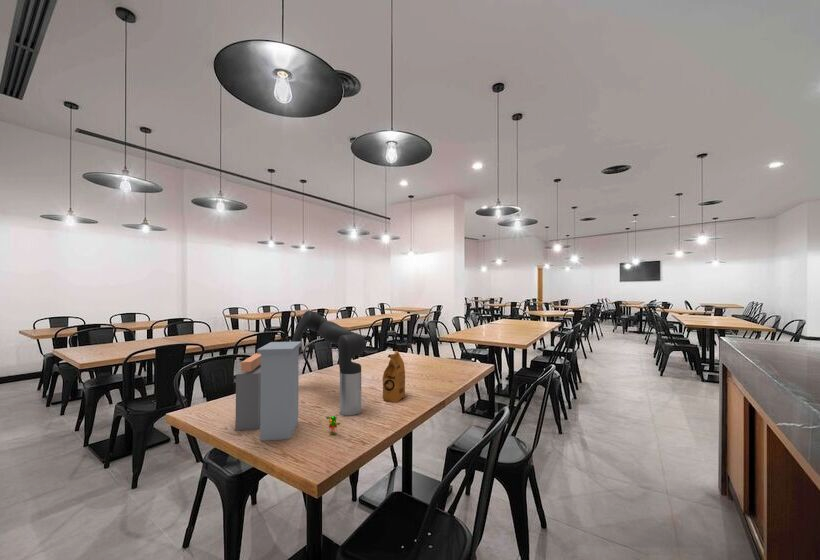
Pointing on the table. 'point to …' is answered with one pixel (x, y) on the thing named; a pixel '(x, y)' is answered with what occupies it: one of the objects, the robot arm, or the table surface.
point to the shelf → (248, 399)
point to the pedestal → (279, 390)
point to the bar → (251, 362)
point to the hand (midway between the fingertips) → (263, 351)
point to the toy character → (333, 423)
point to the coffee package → (394, 379)
